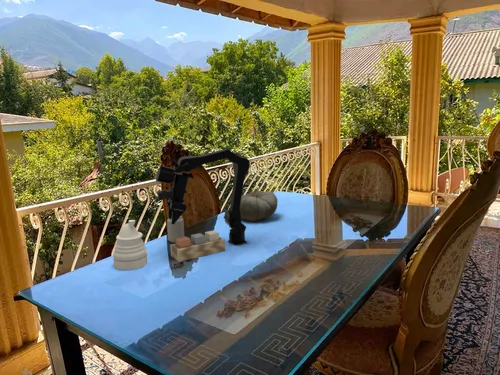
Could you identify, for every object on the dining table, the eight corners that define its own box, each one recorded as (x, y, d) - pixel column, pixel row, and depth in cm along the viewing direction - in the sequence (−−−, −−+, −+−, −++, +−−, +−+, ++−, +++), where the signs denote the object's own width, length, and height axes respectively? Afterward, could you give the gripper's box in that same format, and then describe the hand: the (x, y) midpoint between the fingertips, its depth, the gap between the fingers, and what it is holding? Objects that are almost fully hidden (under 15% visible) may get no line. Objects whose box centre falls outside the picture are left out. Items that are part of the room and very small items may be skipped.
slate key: (200, 244, 165) (200, 233, 164) (205, 247, 161) (204, 235, 160) (191, 246, 162) (190, 235, 161) (195, 249, 159) (195, 237, 158)
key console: (216, 245, 172) (215, 234, 171) (225, 250, 165) (224, 239, 164) (171, 256, 160) (170, 244, 159) (178, 262, 153) (178, 250, 152)
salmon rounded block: (186, 247, 161) (185, 236, 160) (190, 250, 157) (190, 238, 156) (176, 249, 159) (175, 238, 158) (180, 252, 155) (180, 241, 154)
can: (180, 243, 175) (179, 218, 172) (165, 242, 176) (164, 217, 174) (186, 238, 182) (185, 214, 179) (172, 237, 183) (170, 213, 181)
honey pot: (153, 259, 156) (151, 217, 153) (134, 271, 144) (131, 226, 141) (127, 256, 160) (124, 214, 157) (107, 267, 149) (102, 223, 145)
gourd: (287, 211, 218) (282, 182, 214) (266, 229, 199) (260, 198, 194) (251, 210, 232) (246, 183, 228) (228, 227, 213) (221, 198, 208)
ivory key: (214, 241, 169) (213, 230, 168) (219, 243, 165) (218, 232, 164) (205, 243, 166) (204, 232, 165) (210, 245, 163) (209, 234, 162)
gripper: (158, 178, 167) (150, 212, 168) (163, 185, 149) (154, 223, 151) (183, 184, 171) (174, 217, 172) (191, 191, 153) (181, 228, 155)
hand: (171, 221), depth 162 cm, fingers open, 9 cm apart
